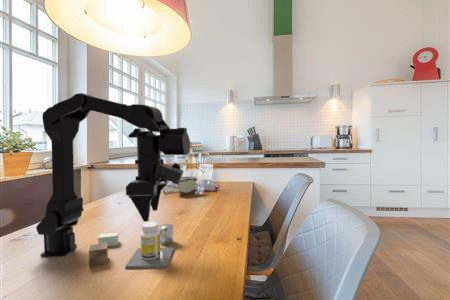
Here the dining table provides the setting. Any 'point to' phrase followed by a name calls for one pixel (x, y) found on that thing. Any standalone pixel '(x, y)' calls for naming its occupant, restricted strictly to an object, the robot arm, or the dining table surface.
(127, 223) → the dining table surface
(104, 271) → the dining table surface
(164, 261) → the coaster
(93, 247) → the walnut block
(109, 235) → the sage box
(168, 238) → the metal shaker
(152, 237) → the supplement bottle
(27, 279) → the dining table surface
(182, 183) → the food container
